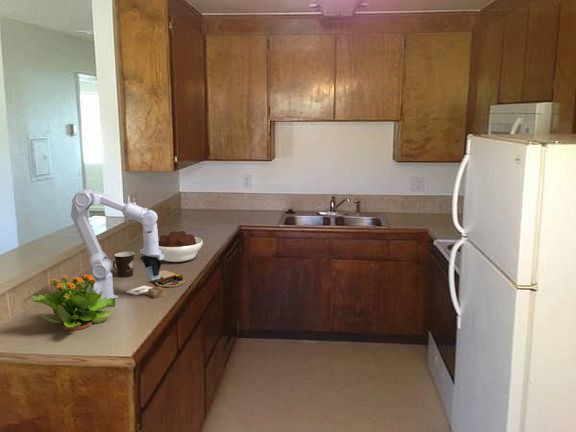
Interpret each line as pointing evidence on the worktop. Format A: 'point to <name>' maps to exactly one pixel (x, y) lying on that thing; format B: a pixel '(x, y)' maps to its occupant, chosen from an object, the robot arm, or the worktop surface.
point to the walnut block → (156, 292)
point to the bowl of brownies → (179, 246)
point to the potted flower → (76, 303)
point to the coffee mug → (124, 264)
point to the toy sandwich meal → (169, 279)
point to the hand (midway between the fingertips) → (153, 274)
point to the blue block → (151, 274)
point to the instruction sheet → (139, 290)
